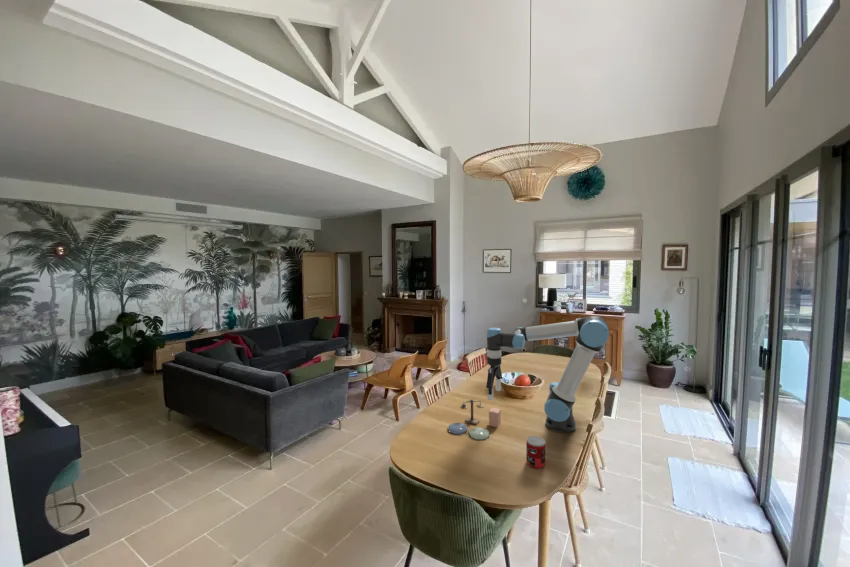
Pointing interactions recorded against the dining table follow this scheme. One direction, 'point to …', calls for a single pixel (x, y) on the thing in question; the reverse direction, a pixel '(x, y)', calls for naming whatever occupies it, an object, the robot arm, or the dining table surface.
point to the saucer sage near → (479, 433)
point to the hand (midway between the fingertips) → (494, 395)
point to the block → (494, 417)
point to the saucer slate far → (457, 428)
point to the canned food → (535, 452)
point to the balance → (471, 420)
